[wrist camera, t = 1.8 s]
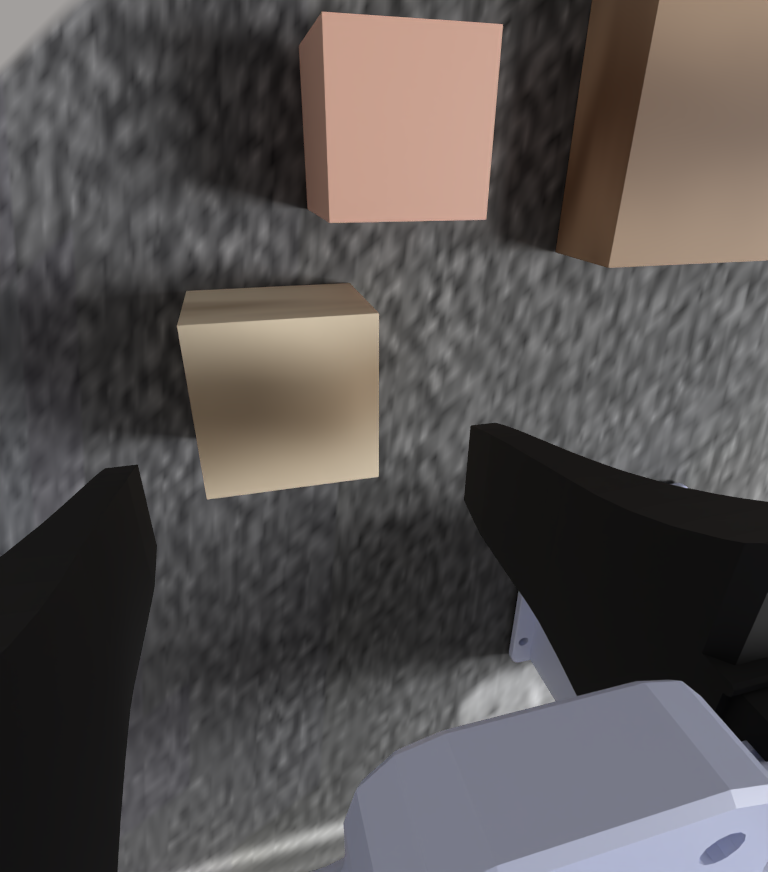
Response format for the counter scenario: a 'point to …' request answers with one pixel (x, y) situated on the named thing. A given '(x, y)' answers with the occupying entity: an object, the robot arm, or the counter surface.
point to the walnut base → (670, 135)
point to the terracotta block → (398, 117)
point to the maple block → (282, 386)
